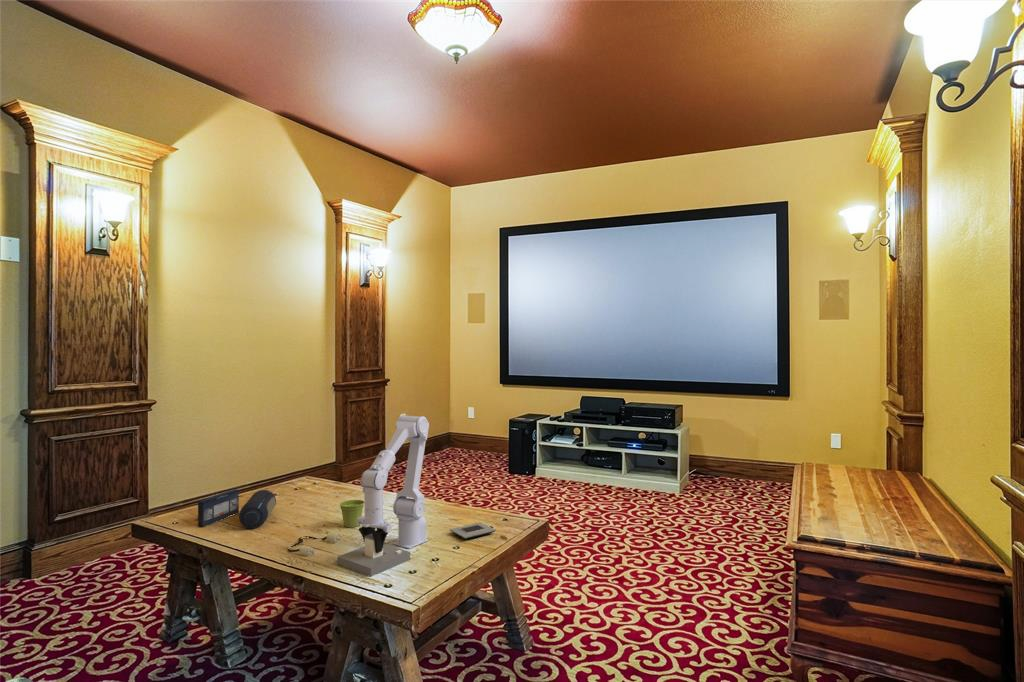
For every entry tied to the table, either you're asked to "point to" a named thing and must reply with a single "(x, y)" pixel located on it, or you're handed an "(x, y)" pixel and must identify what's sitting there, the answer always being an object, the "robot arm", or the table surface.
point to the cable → (309, 550)
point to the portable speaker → (257, 509)
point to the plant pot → (351, 511)
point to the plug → (371, 547)
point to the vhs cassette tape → (218, 507)
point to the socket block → (373, 560)
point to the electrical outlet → (472, 530)
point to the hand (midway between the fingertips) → (374, 550)
